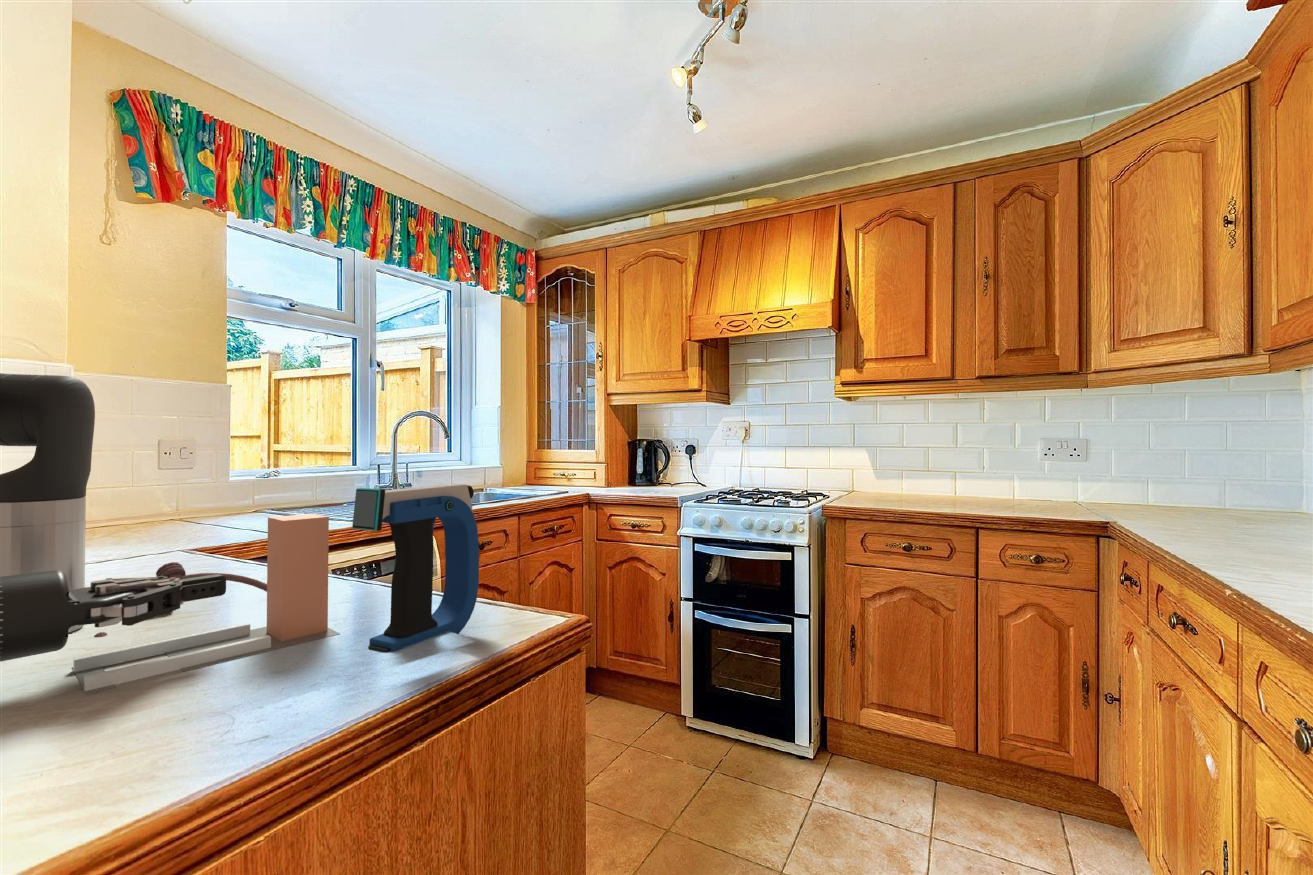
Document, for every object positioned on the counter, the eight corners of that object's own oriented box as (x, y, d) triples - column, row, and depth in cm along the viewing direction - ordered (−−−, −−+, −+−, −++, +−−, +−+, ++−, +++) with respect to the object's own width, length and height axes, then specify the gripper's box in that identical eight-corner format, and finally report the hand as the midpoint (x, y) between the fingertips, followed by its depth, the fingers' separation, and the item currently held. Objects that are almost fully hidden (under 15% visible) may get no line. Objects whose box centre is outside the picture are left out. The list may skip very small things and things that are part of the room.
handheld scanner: (345, 665, 64) (349, 487, 64) (454, 624, 78) (457, 480, 78) (374, 673, 62) (378, 490, 62) (480, 630, 76) (483, 481, 76)
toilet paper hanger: (103, 646, 67) (70, 572, 73) (89, 700, 69) (59, 624, 75) (299, 603, 85) (259, 547, 92) (283, 646, 87) (246, 589, 94)
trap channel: (71, 682, 59) (71, 655, 59) (307, 629, 76) (307, 608, 76) (86, 710, 53) (87, 681, 53) (340, 646, 70) (340, 623, 70)
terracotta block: (266, 632, 70) (267, 517, 70) (311, 622, 74) (312, 513, 74) (281, 641, 67) (282, 520, 67) (327, 630, 71) (328, 516, 71)
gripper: (-5, 590, 47) (244, 558, 61) (-15, 568, 56) (207, 544, 69) (-6, 681, 47) (243, 629, 61) (-16, 645, 56) (206, 606, 69)
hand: (223, 584), depth 65 cm, fingers closed
